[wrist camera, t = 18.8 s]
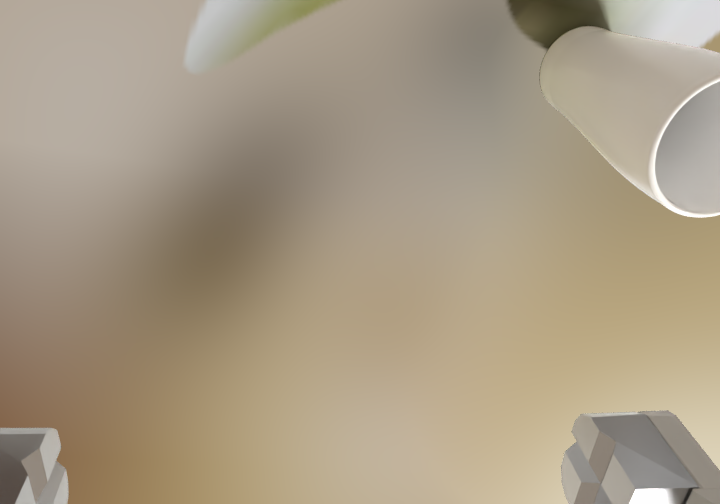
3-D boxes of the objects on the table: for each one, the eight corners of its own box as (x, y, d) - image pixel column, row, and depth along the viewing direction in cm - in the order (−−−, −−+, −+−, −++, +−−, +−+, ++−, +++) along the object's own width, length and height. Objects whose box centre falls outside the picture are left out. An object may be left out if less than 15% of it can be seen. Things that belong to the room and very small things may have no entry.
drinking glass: (507, 104, 40) (619, 200, 27) (553, -4, 37) (703, 45, 24) (597, 132, 42) (743, 235, 29) (648, 31, 39) (836, 94, 26)
